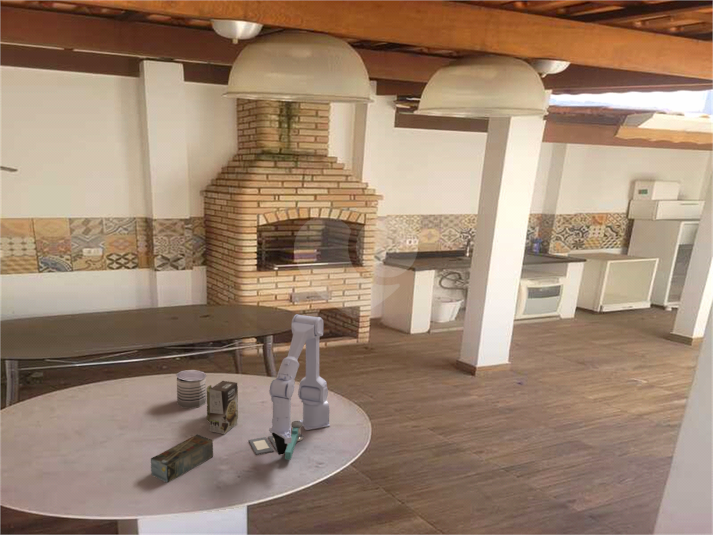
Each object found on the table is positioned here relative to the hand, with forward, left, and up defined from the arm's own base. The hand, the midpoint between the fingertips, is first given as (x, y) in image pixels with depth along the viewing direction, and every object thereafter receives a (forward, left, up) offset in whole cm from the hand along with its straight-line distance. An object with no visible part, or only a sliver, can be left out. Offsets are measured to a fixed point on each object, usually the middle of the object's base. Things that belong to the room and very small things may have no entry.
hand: (281, 453), depth 182 cm
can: (+20, -54, -2) cm, 58 cm away
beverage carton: (+30, -7, -2) cm, 31 cm away
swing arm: (-5, -4, 0) cm, 7 cm away
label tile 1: (+4, -10, -2) cm, 11 cm away
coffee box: (+13, -28, -2) cm, 31 cm away
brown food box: (+12, -36, -2) cm, 38 cm away
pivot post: (-9, -11, -2) cm, 14 cm away
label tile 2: (-3, -10, -2) cm, 10 cm away
